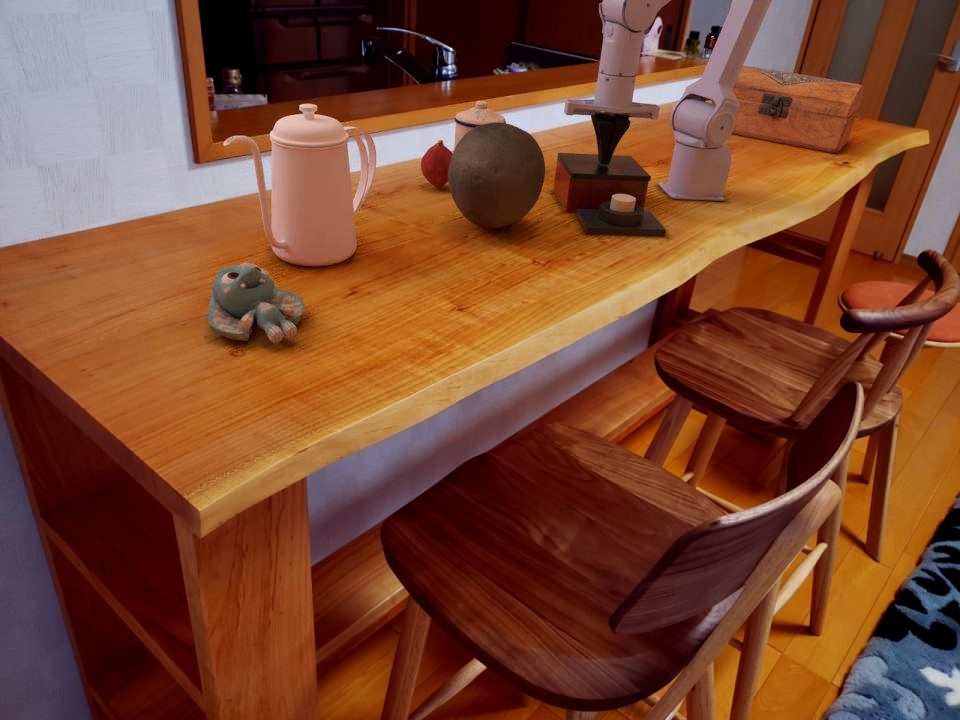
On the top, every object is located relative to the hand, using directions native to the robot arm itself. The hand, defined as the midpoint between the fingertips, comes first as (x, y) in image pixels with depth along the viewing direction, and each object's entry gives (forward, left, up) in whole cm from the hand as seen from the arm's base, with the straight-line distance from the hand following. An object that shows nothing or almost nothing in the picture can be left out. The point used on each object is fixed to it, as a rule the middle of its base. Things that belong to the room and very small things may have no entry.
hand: (603, 162), depth 120 cm
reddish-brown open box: (0, -1, -7) cm, 7 cm away
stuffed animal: (+48, +43, -7) cm, 65 cm away
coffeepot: (+44, +23, -7) cm, 50 cm away
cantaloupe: (+19, +12, -7) cm, 24 cm away
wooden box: (-56, -53, -7) cm, 77 cm away
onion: (+26, -6, -7) cm, 28 cm away
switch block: (-1, +10, -7) cm, 12 cm away
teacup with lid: (+17, -19, -7) cm, 26 cm away
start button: (-1, +10, -4) cm, 11 cm away
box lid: (0, 0, -1) cm, 1 cm away
